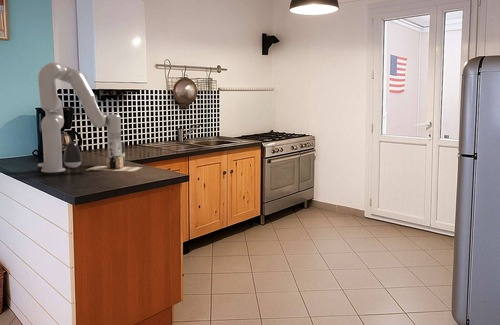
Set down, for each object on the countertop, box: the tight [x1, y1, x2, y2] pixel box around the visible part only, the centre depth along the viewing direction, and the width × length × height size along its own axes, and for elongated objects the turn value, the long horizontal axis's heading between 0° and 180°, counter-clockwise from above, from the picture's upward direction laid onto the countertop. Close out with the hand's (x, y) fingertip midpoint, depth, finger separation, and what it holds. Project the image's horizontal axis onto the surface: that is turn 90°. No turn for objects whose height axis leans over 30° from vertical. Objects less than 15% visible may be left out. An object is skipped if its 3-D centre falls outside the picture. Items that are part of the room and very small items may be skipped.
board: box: [85, 165, 144, 172], centre depth 259 cm, size 28×15×1 cm, turn 84°
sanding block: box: [105, 156, 124, 169], centre depth 258 cm, size 8×5×6 cm, turn 84°
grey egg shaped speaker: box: [62, 141, 83, 169], centre depth 267 cm, size 10×10×15 cm
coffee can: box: [112, 141, 126, 165], centre depth 277 cm, size 10×10×14 cm
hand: (114, 167), depth 259 cm, fingers closed on sanding block, 5 cm apart
